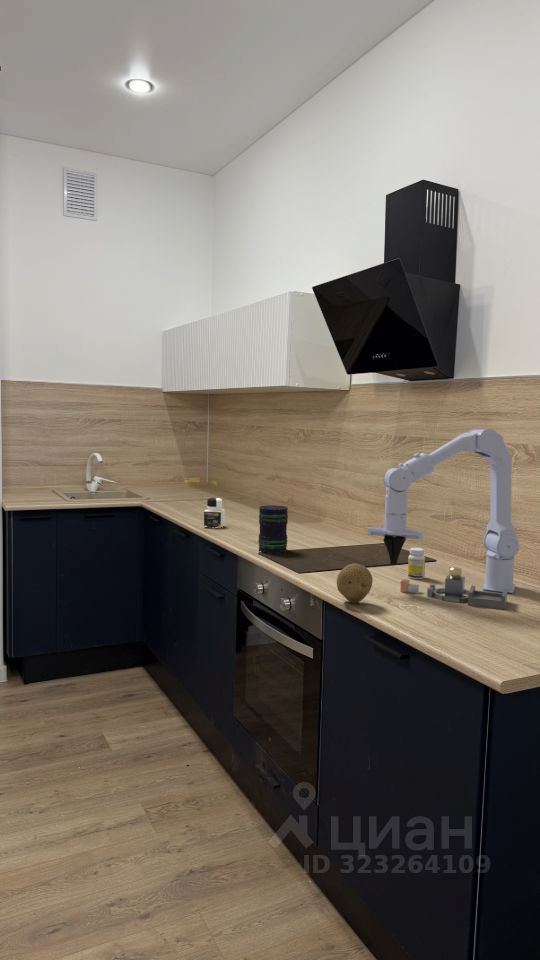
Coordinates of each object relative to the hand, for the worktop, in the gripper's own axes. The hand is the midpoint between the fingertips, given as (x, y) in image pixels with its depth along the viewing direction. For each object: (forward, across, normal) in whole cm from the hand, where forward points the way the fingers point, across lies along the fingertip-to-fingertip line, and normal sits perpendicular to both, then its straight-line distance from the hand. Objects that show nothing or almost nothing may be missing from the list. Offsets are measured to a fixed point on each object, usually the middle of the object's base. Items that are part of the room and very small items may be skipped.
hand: (393, 563), depth 184 cm
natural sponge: (+7, -6, -18) cm, 20 cm away
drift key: (+7, +5, 0) cm, 8 cm away
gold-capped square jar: (+7, +16, 0) cm, 18 cm away
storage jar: (+7, -49, +35) cm, 61 cm away
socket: (+7, +16, 0) cm, 18 cm away
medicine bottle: (+7, -89, +70) cm, 113 cm away
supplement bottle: (+7, +3, +17) cm, 19 cm away
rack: (+7, +25, -3) cm, 26 cm away
